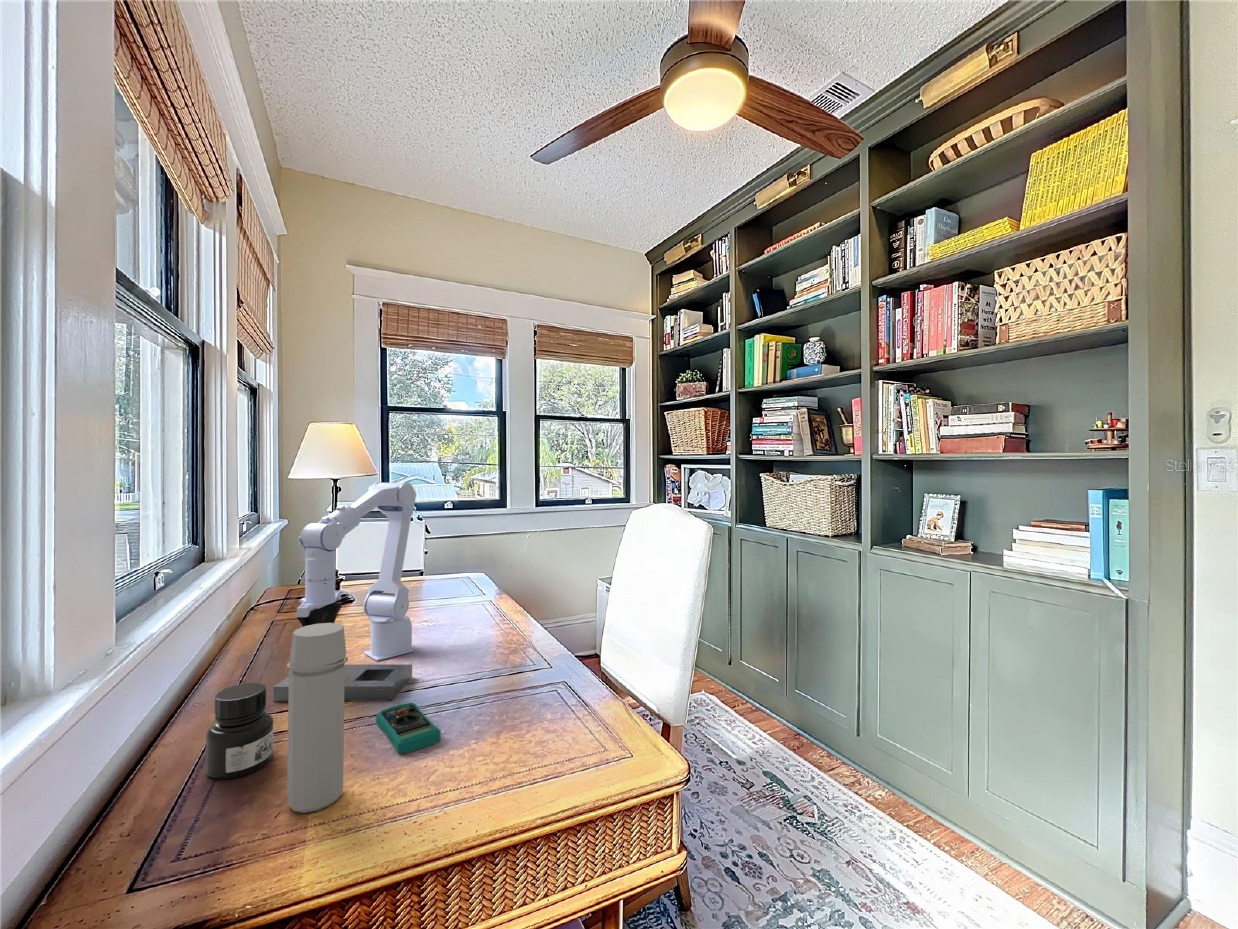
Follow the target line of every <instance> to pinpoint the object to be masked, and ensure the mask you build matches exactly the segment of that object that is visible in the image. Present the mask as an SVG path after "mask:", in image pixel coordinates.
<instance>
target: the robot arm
mask: <svg viewBox="0 0 1238 929" xmlns="http://www.w3.org/2000/svg"><path fill="white" fill-rule="evenodd" d="M367 490H368V491H367V492H366V493H364V494H363V495H362V496H361V497H360V498H358V499H357V500H356V501H355V502H353V503H352V504H351V505H346V504H345V505H338V506H337V507H335V510H334V511H333V512H331V513H329V514H328V515H327V516H323V517H321V520H319V521H318V522H317V523H316V522H312V523H308V524H306V525H305V527H304V528H302V530H301V532H300V535H299V537H298V543H299V546H300V547H301V548H302V555H303V557H304V559H305V560H304V561H305V566H304V567H305V572H304V573H305V575H304V577H305V580H304V582H305V584H304V597H302V598H301V599H299V603H300V605H299V606H298V607H297V608H296V619H297V620H298V621H299V623H300V624H301V626H302V627H304V626H308V625H313V624H320V623H336V619H337V616H338V614H339V613H340V610H341V608H342V607H343V603H342V602H337V601H340V600H342V590H336V553H337V552H336V551H337V550H336V549H338V548H340V546H341V544H342V541H343V539H344V538H345V537H346V535H347V534H348V533H350V532H351V531H353V529H355V528H356V527H358V526H359V525H360V523H361V518H362V517H363V516H365V515H366V514H368V513H370V512H371V511H373V510H374V509H377V510H378V511H379V512H380V513H382V515H384V516H386V518H387V520H388V524H387V530H386V536H385V541H384V548H383V553H382V560H381V563H380V564H381V565H380V568H379V569H380V570H379V575H378V580H377V581H376V582H374V583H373V584H371V585H370V586H369V587H368V591H367V594H366V597H365V598H364V601H363V602H362V603H363V606H362V608H363V609H362V610H363V613H364V614H365V615H366V617H367V620H368V621H370V647H369V648H370V649H368V650H365V651H363V653H364V654H365V655H367V656H368V657H370V658H371V659H373V660H374V661H377V662H379V661H381V660H382V661H383V660H385V659H386V660H387V659H390V658H394V657H397V656H400V655H405V654H408V653H412V652H414V649H413V647H412V645H413V643H412V641H413V636H412V635H413V626H412V622H411V620H412V619H410V617H409V616H408V615H407V612H408V611H409V607H410V600H409V590H410V589H409V588H408V587H407V586H406V585H405V584H404V583H402V581H401V580H402V574H403V570H404V569H403V568H404V564H405V562H404V561H405V556H406V550H407V543H408V537H409V532H410V531H409V530H410V527H411V520H412V516H413V515H414V511H415V504H416V499H417V492H416V491H415V489H414V486H413V485H412V484H411V482H402V483H401V482H382V481H376V482H375V483H373V484H372V485H369V486H368V489H367ZM388 592H389V593H388ZM391 592H392V593H391Z"/></svg>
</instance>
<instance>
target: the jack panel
mask: <svg viewBox="0 0 1238 929" xmlns="http://www.w3.org/2000/svg"><path fill="white" fill-rule="evenodd" d="M412 678H413V664H411V663H410V664H409V663H408V664H395V663H394V664H392V663H391V664H386V663H385V664H377V663H376V664H373V663H372V664H370V663H369V664H365V663H364V664H362V663H361V664H360V663H359V664H345V673H344V702H381V701H382V702H392V701H393V700H394V699H395V698H396V697H397V696H398V694H400V692H402V690H403V689H404V688H405V687H406V685H407V684H408V683H409V682H410V681H411V679H412ZM288 695H289V676H287V677H285V678H284V679H282V680H281V681H280V682H278V683H277V684H275V685H274V686H273V702H288Z"/></svg>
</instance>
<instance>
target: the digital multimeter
mask: <svg viewBox="0 0 1238 929" xmlns="http://www.w3.org/2000/svg"><path fill="white" fill-rule="evenodd" d="M376 725H377V726H378V727H379V728H380V730H382V732H383V733H384V734H385V735H386V737H387V739H388V740H389V741H390V742H391V744H392V747H394V750H395V751H396V753H397V754H398V755H403V754H404V755H405V754H407V753H411V751H412V752H415V751H417V750H421V748H422V749H423V748H424V747H425V748H427V747H430V746H432V744H433V745H435V744H438V743H440V741H441V730H440V729H439V728H438V726H436V725H435V724H434V722H432V721H431V720H430V719H429V718H428V717H427V716H426V715H425V714H424V713H423V712H422V711H421V709H420V708H419V707H418V705H417V704H416V703H414V702H408V703H402V704H398V705H393V706H391V707H387V708H384V709H382V710H380V711H379V712H377V713H376ZM437 742H438V743H437ZM434 743H435V744H434ZM426 746H427V747H426ZM425 748H424V749H425ZM414 750H415V751H414Z"/></svg>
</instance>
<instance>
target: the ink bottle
mask: <svg viewBox="0 0 1238 929" xmlns="http://www.w3.org/2000/svg"><path fill="white" fill-rule="evenodd" d="M266 705H267V686H266V684H264V683H260V682H251V683H250V682H247V683H241V684H235V685H232V686H229V687H226V688H224V689H222V690H220V691H218V692H217V693H216V694H215V695H214V715H215V716H214V720H215V721H214V723H213V724H211V725H210V727H209V728H208V729H207V731H206V735H205V772H206V776H208V777H210V778H214V779H221V780H222V779H234V778H237V777H243V776H244V775H245V776H246V775H248V774H250V773H253V772H255V771H257V770H259V769H260V768H262V767H263V766H265V765H266V764H267V763H268V762H270V761H271V759H272V757H273V754H274V718H273V716H272V715H271V714H270V713H269V712H266V711H265V710H266V708H267V707H266Z"/></svg>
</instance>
